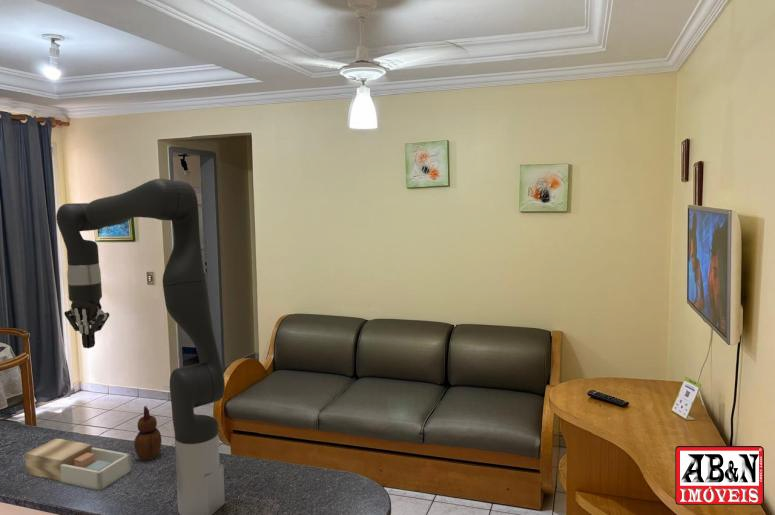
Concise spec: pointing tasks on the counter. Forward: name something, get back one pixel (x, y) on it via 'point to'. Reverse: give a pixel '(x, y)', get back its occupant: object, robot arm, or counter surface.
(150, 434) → the wooden figurine
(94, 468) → the slate tile
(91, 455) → the terracotta tile
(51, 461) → the wooden block
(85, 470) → the tray
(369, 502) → the counter surface
